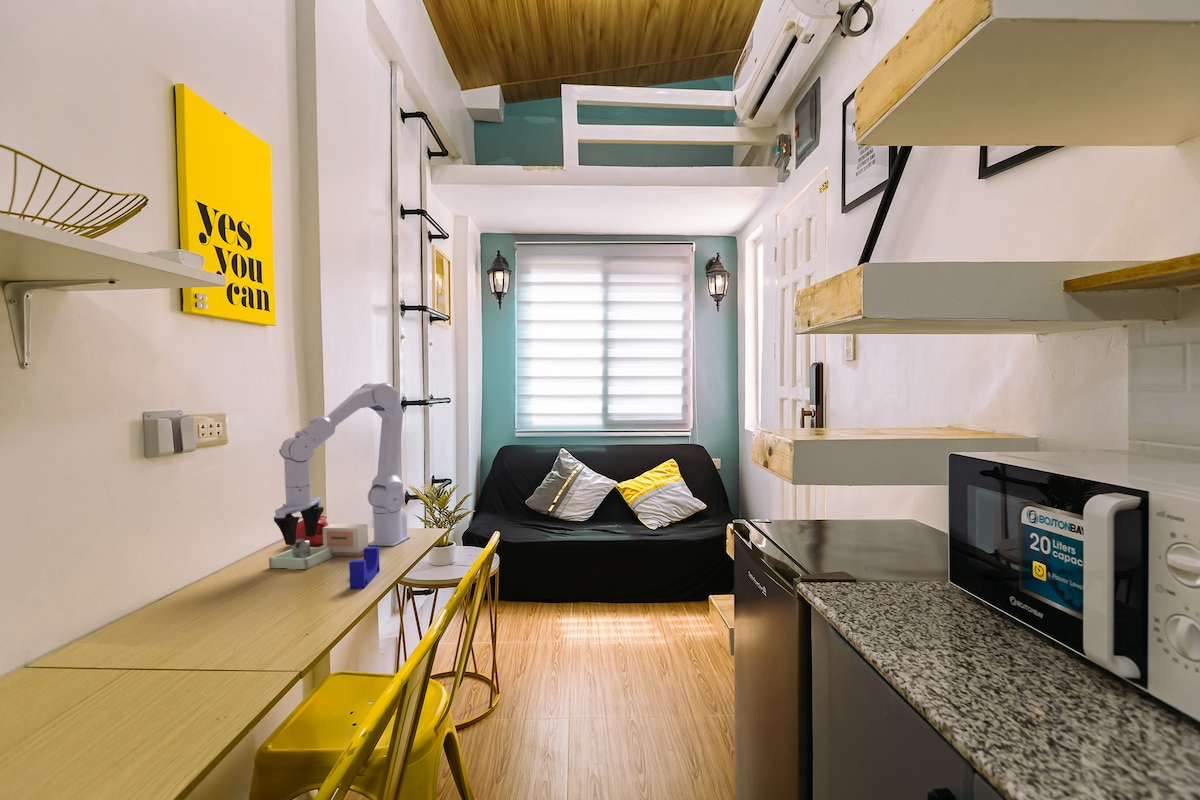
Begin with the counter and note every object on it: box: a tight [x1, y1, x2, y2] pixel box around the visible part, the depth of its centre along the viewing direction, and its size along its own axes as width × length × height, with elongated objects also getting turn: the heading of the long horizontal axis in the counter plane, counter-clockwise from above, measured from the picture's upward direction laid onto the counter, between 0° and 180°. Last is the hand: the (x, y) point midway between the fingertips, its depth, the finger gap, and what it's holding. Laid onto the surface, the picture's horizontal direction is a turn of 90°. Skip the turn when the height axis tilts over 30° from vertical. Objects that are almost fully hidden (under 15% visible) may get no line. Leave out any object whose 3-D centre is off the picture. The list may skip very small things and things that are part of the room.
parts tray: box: [268, 546, 333, 570], centre depth 151 cm, size 10×10×2 cm
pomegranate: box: [296, 515, 329, 547], centre depth 169 cm, size 10×10×9 cm
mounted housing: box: [322, 523, 369, 558], centre depth 159 cm, size 6×12×7 cm, turn 80°
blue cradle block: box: [348, 546, 381, 590], centre depth 137 cm, size 12×4×6 cm, turn 5°
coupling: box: [291, 539, 311, 558], centre depth 151 cm, size 4×4×5 cm
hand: (300, 540), depth 151 cm, fingers open, 7 cm apart
